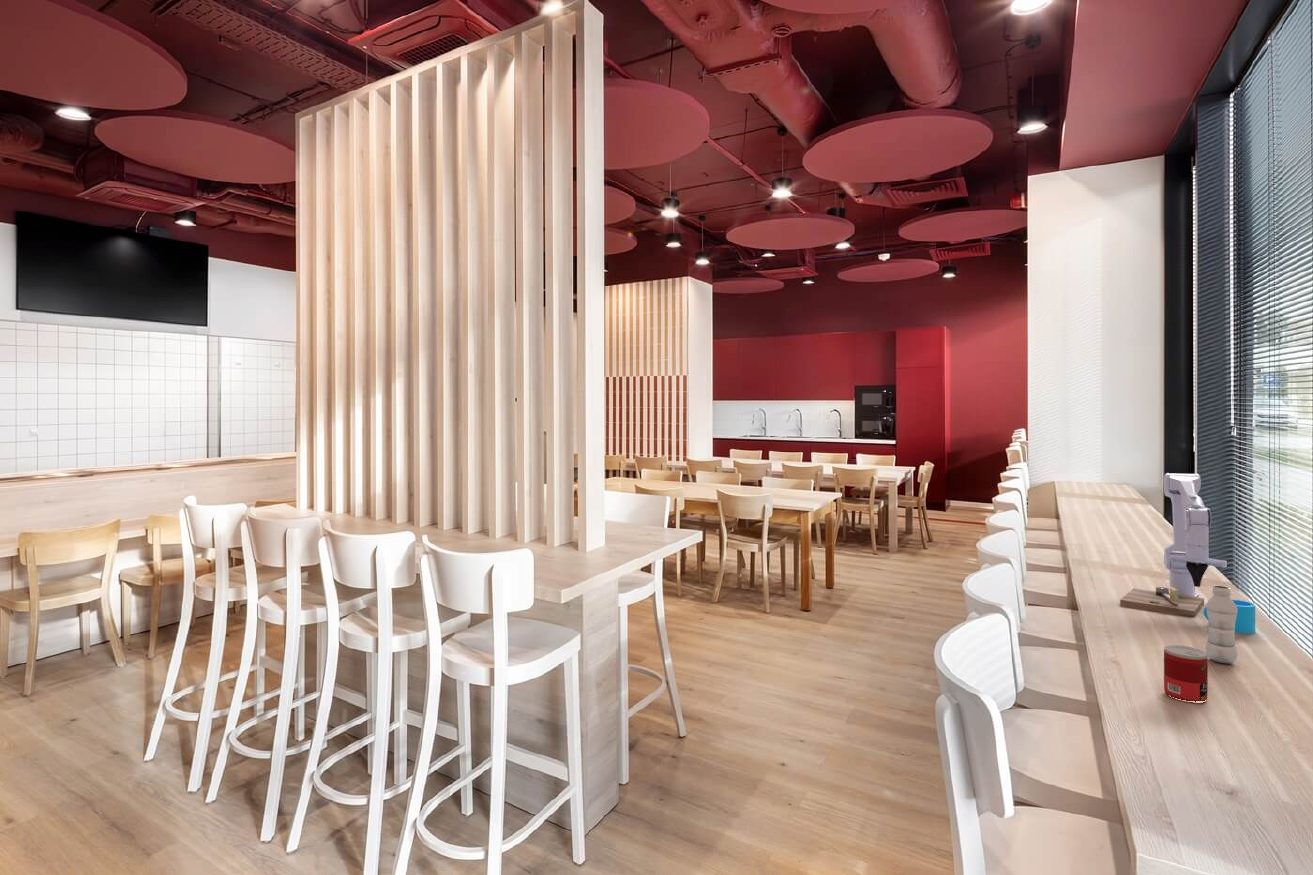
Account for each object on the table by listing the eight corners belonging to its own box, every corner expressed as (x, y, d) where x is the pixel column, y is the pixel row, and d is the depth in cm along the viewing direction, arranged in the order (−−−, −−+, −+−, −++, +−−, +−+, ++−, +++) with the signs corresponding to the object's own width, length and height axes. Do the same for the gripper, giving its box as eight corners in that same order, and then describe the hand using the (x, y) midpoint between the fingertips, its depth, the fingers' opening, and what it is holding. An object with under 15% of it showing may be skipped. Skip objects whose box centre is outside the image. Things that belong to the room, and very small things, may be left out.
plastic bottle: (1229, 658, 177) (1229, 584, 176) (1242, 667, 170) (1243, 591, 170) (1200, 656, 179) (1200, 583, 178) (1212, 665, 172) (1212, 589, 172)
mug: (1254, 628, 200) (1254, 601, 200) (1256, 635, 194) (1256, 608, 193) (1203, 621, 208) (1203, 595, 207) (1203, 628, 201) (1203, 601, 201)
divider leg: (1154, 592, 233) (1154, 578, 233) (1166, 593, 232) (1166, 579, 232) (1170, 604, 219) (1170, 590, 218) (1183, 605, 217) (1183, 591, 217)
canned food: (1210, 706, 149) (1210, 659, 148) (1166, 699, 153) (1166, 653, 153) (1204, 694, 155) (1204, 648, 155) (1162, 687, 159) (1162, 643, 159)
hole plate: (1133, 593, 240) (1133, 587, 240) (1204, 604, 225) (1204, 597, 225) (1120, 605, 226) (1120, 599, 226) (1194, 617, 212) (1194, 610, 212)
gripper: (1167, 544, 217) (1167, 584, 218) (1224, 549, 207) (1224, 592, 207) (1171, 540, 222) (1171, 580, 223) (1227, 546, 212) (1227, 588, 212)
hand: (1197, 586), depth 215 cm, fingers closed
